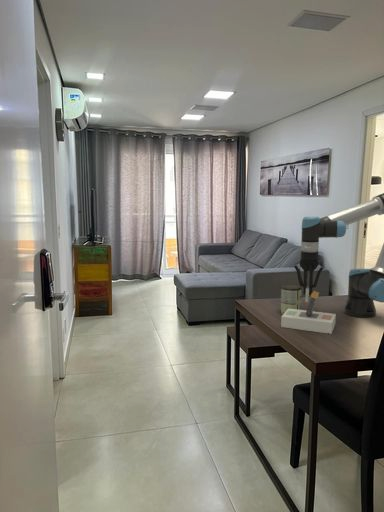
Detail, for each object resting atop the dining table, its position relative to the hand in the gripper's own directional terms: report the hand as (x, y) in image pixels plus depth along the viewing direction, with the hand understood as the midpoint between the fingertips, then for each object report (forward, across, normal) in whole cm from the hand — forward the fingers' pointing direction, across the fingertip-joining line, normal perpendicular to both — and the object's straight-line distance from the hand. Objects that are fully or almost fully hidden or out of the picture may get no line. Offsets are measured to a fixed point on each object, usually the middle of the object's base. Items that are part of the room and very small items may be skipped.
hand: (307, 301), depth 176 cm
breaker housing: (+12, +1, 0) cm, 12 cm away
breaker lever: (+6, +1, 0) cm, 6 cm away
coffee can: (+12, -11, +17) cm, 23 cm away
